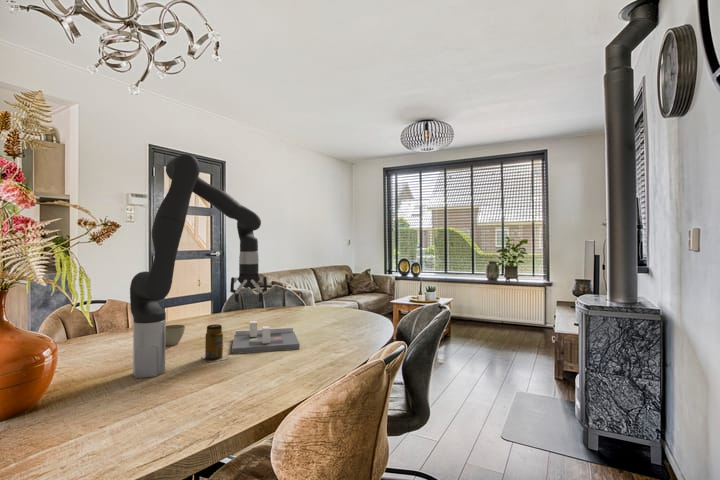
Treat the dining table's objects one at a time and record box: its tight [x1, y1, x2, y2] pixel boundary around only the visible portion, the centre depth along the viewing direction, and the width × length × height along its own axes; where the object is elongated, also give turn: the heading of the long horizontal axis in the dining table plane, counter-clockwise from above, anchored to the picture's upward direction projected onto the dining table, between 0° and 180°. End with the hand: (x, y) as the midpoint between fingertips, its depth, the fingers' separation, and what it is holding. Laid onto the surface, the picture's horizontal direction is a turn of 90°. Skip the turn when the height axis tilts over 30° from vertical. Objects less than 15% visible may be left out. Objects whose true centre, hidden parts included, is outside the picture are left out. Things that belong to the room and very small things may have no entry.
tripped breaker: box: [261, 325, 271, 344], centre depth 153 cm, size 4×3×6 cm
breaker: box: [249, 320, 258, 337], centre depth 163 cm, size 4×3×6 cm
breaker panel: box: [231, 326, 301, 355], centre depth 158 cm, size 22×26×4 cm
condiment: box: [200, 323, 229, 363], centre depth 139 cm, size 7×8×12 cm
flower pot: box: [165, 324, 186, 346], centre depth 157 cm, size 10×10×7 cm
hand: (248, 302), depth 152 cm, fingers open, 8 cm apart
